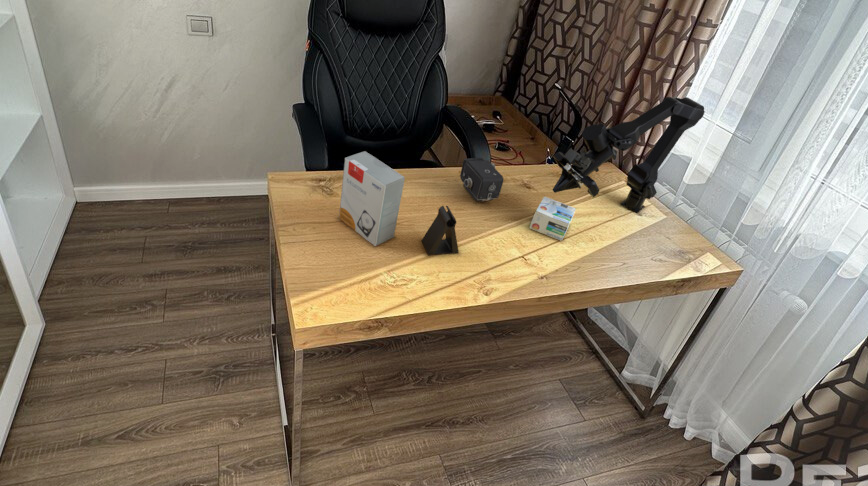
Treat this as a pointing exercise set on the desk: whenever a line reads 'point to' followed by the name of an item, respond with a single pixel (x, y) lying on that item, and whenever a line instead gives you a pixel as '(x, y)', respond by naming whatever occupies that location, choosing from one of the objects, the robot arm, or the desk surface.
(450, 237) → the phone stand
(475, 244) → the desk surface
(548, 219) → the light bulb box
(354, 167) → the hard drive box
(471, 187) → the camera
